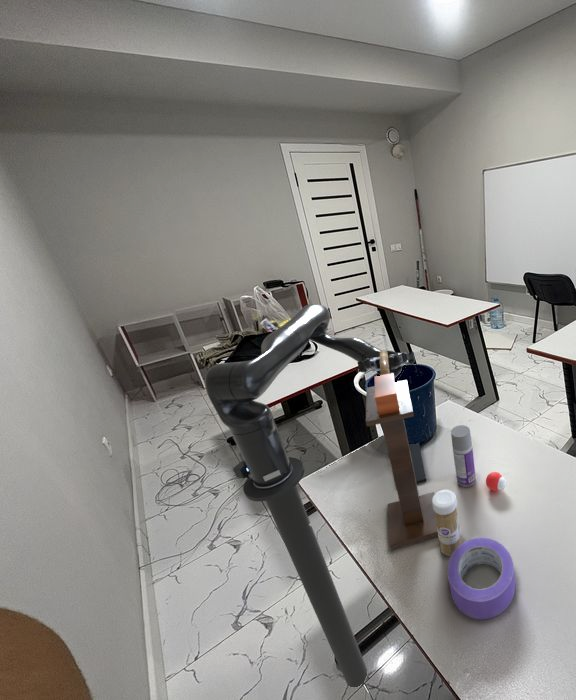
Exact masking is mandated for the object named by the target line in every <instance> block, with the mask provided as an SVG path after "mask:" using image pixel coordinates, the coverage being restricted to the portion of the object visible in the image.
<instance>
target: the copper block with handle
mask: <svg viewBox="0 0 576 700" xmlns="http://www.w3.org/2000/svg"><path fill="white" fill-rule="evenodd" d="M380 350H381V351H380V353H379V355H380V376H377V375H374V377H373V378H374V386H375V401H376V406H377V410H378V414H379V415H384V414H388V413H393V412H398V411H400V409H399V401H398V394H397V387H396V382H395V377H394V373H390V371H389V362H388V353H387V351H386V349H380Z"/></svg>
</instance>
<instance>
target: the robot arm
mask: <svg viewBox="0 0 576 700" xmlns="http://www.w3.org/2000/svg"><path fill="white" fill-rule="evenodd" d="M330 320H331V312H330V310H329V309H328V308H327V307H326V306H324V305H322V304H320V303H319V304H318V303H310V304H306V305H305V306H303V307H301V309H300V310H299V311H298V312H297V313H296V314H295V315H294V316H293V317H292V318H291V319H290V320H288V321H287V322H285V323H284V324H282V326H280V327H278V328H277V329H275V330H274V331H272V332H271V333H269V334H268V335H267V336H266V337H265V338H264V339H263V341H262V343H261V344H260V345H261V346H260V352H261V353H260V354H259V355H258V356H257V357H255V358H253V359H250V360H243V361H234V362H221V363H217V364H214V365H212V366H211V367H209V369H208V370H207V372H206V374H205V377H204V388H205V392H206V395H207V397H208V399H209V401H210V402H211V405H212V406H213V408H214V410H215V412H216V414H217V415H218V417H219V420H220V421H221V422H222V423H223V425H224V426H226V427H227V428H228V429H229V431H230V433H231V435H232V438H233V440H234V442H235V444H236V447H237V449H238V451H239V453H238V455H239V457H240V460H241V461H240V462H238V463H237V464H236V465H235V466H234V467H232V470H233V472H234V475H235V477H236V478H238V479H242V480H243V479H244V480H245V479H247V478H248V479H249V478H250V480H251V482H252V483H253V484H254V486H255V487H256V488H257V489H260V490H267V489H271V488H274V487H277V486H279V485H280V484H282V483H284V482H285V481H286V480H287V479H288V478H289V477H290V476H291V474H292V472H293V467H292V464H291V463H290V460H289V458H288V457H289V454H288V453H287V449H286V447H285V444H284V442H283V438H282V437H281V434H280V432H279V429H278V427H277V424H276V422H275V421H276V420H275V418H274V416H273V414H272V411H271V409H270V407H269V406H268V405H267V404H265V403H264V402H263V403H262V402H259V401H256V400H257V399H259V398H260V397H262V395H264V393H265V392H266V391H267V390H268V389H269V387H271V385H272V383H274V381H275V380H276V378H277V377H278V375H280V373H282V371H283V370H284V369H285V368H286V367H288V365H289V364H290V363H292V362H293V361H294V360H295V359H296V358H297V357H298V356H299V355H300V354H301V353H302V352H303V351H304V350H305V348H306V346H307V345H308V343H309V341H311V342H313V343H315V344H319V345H321V346H323V347H325V348H329V349H331V350H333V351H337V352H339V353H341V354H343V355H345V356H347V357H349V358H351V359H352V360H354V361H356V362H357V366H358V372H359V373H368V372H369V371H372V372H377V373H378V374H379V375H380V355H379V353H380V351H381V350H382V349H380V348H378V347H376V346H374V345H372V344H371V343H369V342H367V341H365V340H363V339H361V338H358V337H335V336H333V335H331V334H329V333H328V332H327V330H328V327H329V324H330ZM385 350H386V349H385ZM386 351H387V353H388V362H389V371H390V373H394V377H395V378H396V377H397V376H398V375H399V374H400V373H401V371H402V367H403V366H404V363H407V364H410V365H413V364H414V363H416V356H415V352H414V351H410V352H405V351H402V352H396V351H394V350H390V349H389V350H388V349H387V350H386Z"/></svg>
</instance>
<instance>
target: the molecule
mask: <svg viewBox="0 0 576 700" xmlns="http://www.w3.org/2000/svg"><path fill="white" fill-rule="evenodd" d="M485 485H486V487H487V488H488V489H489V490H491V491H492V492H498V491H503V490H505V489H506V487H507V480H506V478H505V477H504V476H502V475H501V473H500V472H497V471H492V472H490V473H488V474H487V476H486V477H485Z"/></svg>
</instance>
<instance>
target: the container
mask: <svg viewBox="0 0 576 700" xmlns="http://www.w3.org/2000/svg"><path fill="white" fill-rule="evenodd" d="M450 435H451V445H452V453H453V460H454V461H453V462H454V466H455V475H456V476H455V477H456V482H457V484H458V486H460V487H463V488H469V487H471V486H473V485H474V484H475V483H476V481H477V477H476V468H475V459H474V457H475V456H474V450H473V442H472V435H471V429H470V427H468V426H467V425H464V424H461V425H456V426H454V427H452V429H451V430H450Z"/></svg>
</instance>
